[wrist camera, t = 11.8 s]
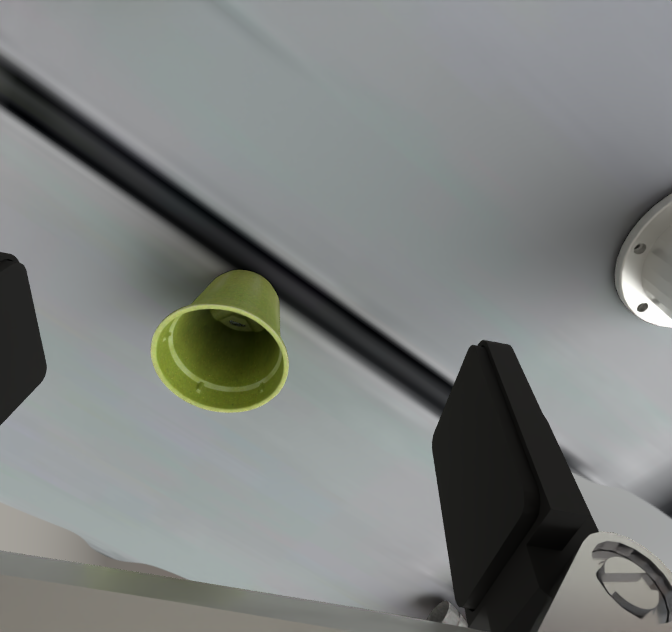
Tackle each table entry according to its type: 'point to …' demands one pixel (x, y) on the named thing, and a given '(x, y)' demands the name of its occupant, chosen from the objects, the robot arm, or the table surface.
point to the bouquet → (447, 615)
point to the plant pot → (224, 346)
